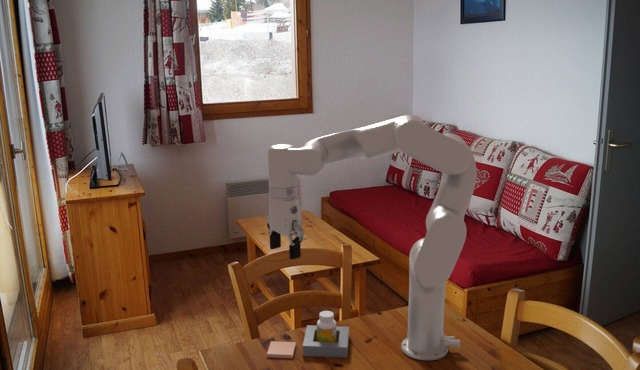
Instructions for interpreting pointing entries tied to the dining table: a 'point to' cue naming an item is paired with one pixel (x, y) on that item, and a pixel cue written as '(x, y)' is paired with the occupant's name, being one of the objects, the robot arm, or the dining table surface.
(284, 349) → the mat
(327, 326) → the supplement bottle
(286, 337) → the dining table surface
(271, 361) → the dining table surface
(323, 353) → the frame
